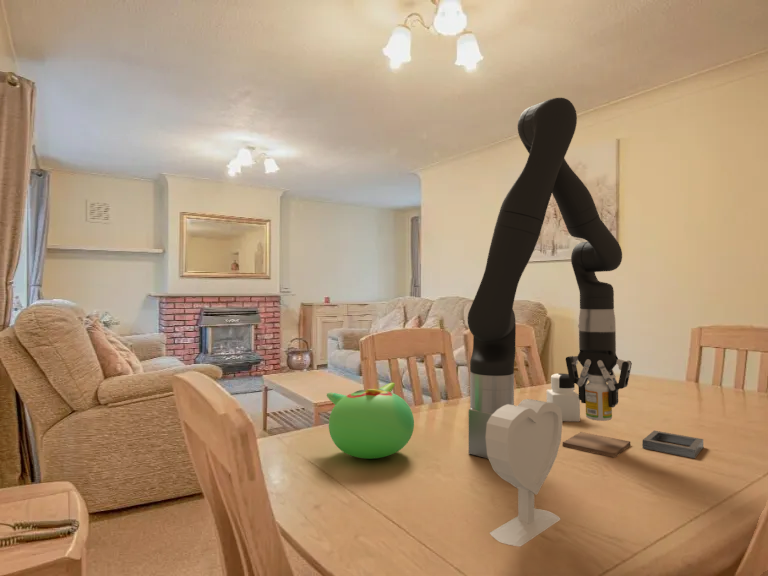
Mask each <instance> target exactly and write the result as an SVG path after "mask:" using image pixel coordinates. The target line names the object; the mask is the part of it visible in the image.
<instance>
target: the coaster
mask: <svg viewBox="0 0 768 576" xmlns="http://www.w3.org/2000/svg"><path fill="white" fill-rule="evenodd" d="M562 446H563V447H565V448H571V449H575V450H579V451H584V452H589V453H593V454H597V455H601V456H606V457H611V458H616V457H617V456H618V455H620V454H621V453H622V452H624V451H625V450H626V449H628V448H629V447H630V446H631V441H629V440H625V439H620V438H614V437H609V436H603V435H598V434H595V433H590V432H589V433H588V432H583V431H580V432H578V433H576V434H575V435H573V436H571V437H569V438H568V439H566V440H564V441H562Z"/></svg>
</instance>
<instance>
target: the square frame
mask: <svg viewBox="0 0 768 576" xmlns="http://www.w3.org/2000/svg"><path fill="white" fill-rule="evenodd" d="M703 448H704V438H699V437H693V436H688V435H681V434H676V433H669V432H666V431H665V432H664V431H658V430H653V431H651V433H649V434H648V435H646V437H644V438H642V449H645V450H650V451H656V452H660V453H664V454H670V455H675V456H681V457H684V458H685V457H686V458H691V459H696V458H697V456H698V455H699V454H700V452H701V451H702V450H703Z"/></svg>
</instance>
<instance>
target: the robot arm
mask: <svg viewBox="0 0 768 576" xmlns="http://www.w3.org/2000/svg"><path fill="white" fill-rule="evenodd" d="M577 115H578V114H577V110H576V108H575V106H574V104H573V102H571V101H570V100H569V99H568V98H565V97H554V98H550V99H547V100H544V101H541V102H538V103H536V104H533V105H532V106H531V105H530V106H529V107H527V108H526V109H524V110H523V111H522V113H521V114H520V115H519V119H518V121H517V133H518V136H519V138H520V141H521V142H522V144H523V146H524V148H525V149H526V151H527V152H528V157H527V160H526V163H525V165H524V167H523V169H522V170H521V172H520V173H519V176H517V179H516V180H515V181H514V183H513V185H512V186H511V188H510V189H509V190H508V192H507V194H506V196H505V197H504V199H503V201H502V204H501V205H500V209H499V211H498V215H497V219H496V223H495V224H494V225H495V226H494V229H493V233H492V236H491V237H492V238H491V242H490V246H489V250H488V254H487V260H486V264H485V268H484V272H483V276H482V279H481V281H480V282H479V283H480V284H479V286H478V289H477V291H476V294H475V297H474V298H473V301H472V303H471V305H470V308H469V310H468V313H467V325H468V329H469V332H470V333H471V334H472V336H473V337H472V338H473V339H472V341H473V343H472V345H473V346H472V347H473V348H472V353H471V358H470V360H469V361H470V362H469V363H470V365H469V370H470V371H469V372H470V373H469V374H470V375H469V377H470V379H469V380H470V383H469V384H470V386H469V387H470V389H469V393H470V395H469V397H470V398H469V400H470V401H469V402H470V403H469V404H470V405H469V406H470V407H469V409H468V454H470V455H473V456H477V457H480V458H484V459H488V456H487V448H486V438H485V437H486V426H487V422H488V420H489V418H490V416H491V415H492V414H493V413H494V412H495V411H496V410H498V409H499V408H501V407H502V406H504V405H507V404H509V405H515V361H516V360H515V359H516V336H517V335H516V329H517V328H516V326H517V325H516V314H515V311H514V309H513V308H514V302H515V299H516V298H515V297H516V294H517V290H518V286H519V282H520V280H521V277H522V276H523V274H524V271H525V270H526V267H527V266H528V264H529V262H530V259H531V257H532V255H533V253H534V251H535V249H536V247H537V243H538V240H539V239H540V234H541V232H542V228H543V225H544V221H545V218H546V213H547V210H548V206H549V203H550V201H551V198H552V196H553V198H554V201H555V203H556V205H557V207H558V209H559V212H560V214H561V217H562V220H563V222H564V225H565V228H566V230H567V232H568V234H569V235H570V236H571V237H573V238H577V239H582V240H584V241H582V242H579V243H577V244H576V245H575V246H574V247H573V249H572V252H571V256H570V261H571V266H572V269H573V273H574V276H575V280H576V284H577V288H578V291H579V315H578V326H577V327H578V344H579V345H578V348H579V352H578V354H577V355H576V356H573V355H569V356H566V357H565V364H566V369H567V374H569V379H570V382H571V383H575V385H576V386H577V387H578V395H579V400H580V404H586V400H585V386H586V384H588V383H589V381H588V374H598V375H602V376H603V377H604V379H605V380H606V381H607V382H606V383H607V384H608V386H609V388H610V390H609V407H612V409H613V408H615V407H616V406H617V405H618V403H619V390H621V389H625V388H627V387H628V385H629V380H630V375H631V370H632V369H631V368H632V361H630V360H622V359H619V358H618V356H617V353H616V351H617V348H616V347H617V342H616V341H617V339H616V337H617V335H616V332H617V331H616V330H617V329H616V315H615V305H614V303H615V301H614V300H615V299H614V298H615V294H614V293H615V291H614V287H613V285H612V284H611V283H608V282H605V281H600V280H598V277H597V275H596V273H600V272H612V271H615V270H617V269H618V268H619V267H620V265H621V263H622V261H623V251H622V248H621V245H620V244H619V241H618V240H617V239H616V237H615V236H614V235H613V234H612V232H611V230H609V228H608V227H607V225H606V224H605V223H604V222H603V221H602V219H601V217H600V215H599V212H598V209H597V207H596V203H595V201H594V199H593V196H592V194H591V192H590V189H588V188H587V186H586V185H585V183H584V182H583V181H582V179H580V177H579V176H578V175H577V174H576V172H575V171H574V170H573V169H572V167H570V165H569V164H568V162H567V161H566V159H565V157H566V155H567V152H568V150H569V147H570V145H571V143H572V141H573V138H574V135H575V133H576V129H577V122H578V118H577V117H578V116H577ZM585 240H586V241H585ZM578 364H580V365H581V366H582V370H581V372H580V374H579V372H578V368H577V367H578V366H577V365H578ZM615 366H618V370H619V371H620V374H619V378H618V380H617V378H616V374H615V372H614V368H615ZM488 460H489V459H488Z"/></svg>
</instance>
